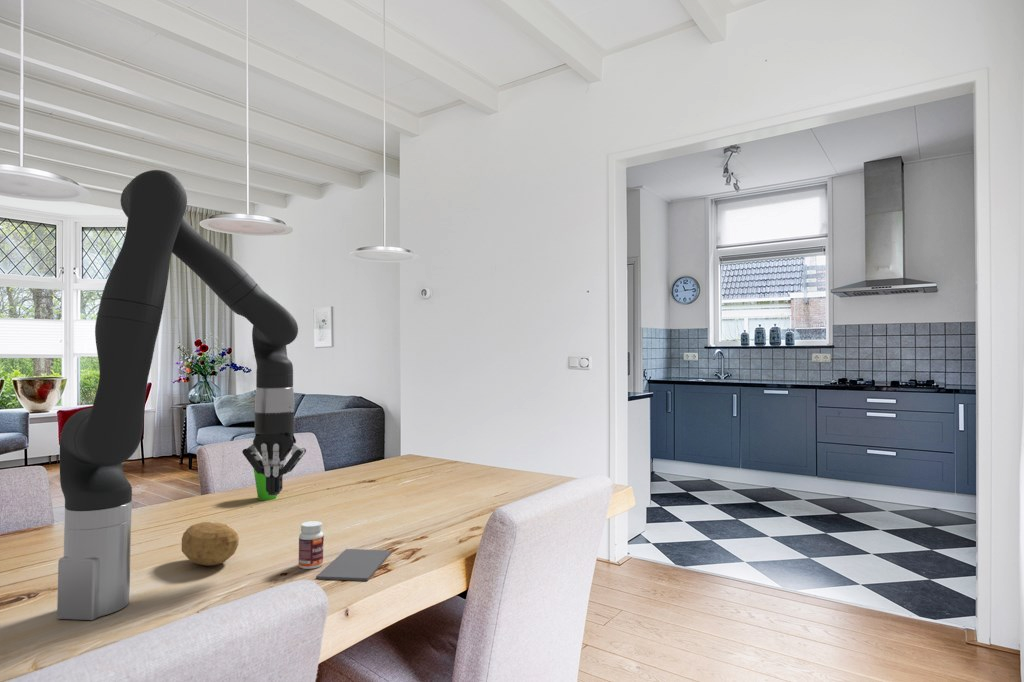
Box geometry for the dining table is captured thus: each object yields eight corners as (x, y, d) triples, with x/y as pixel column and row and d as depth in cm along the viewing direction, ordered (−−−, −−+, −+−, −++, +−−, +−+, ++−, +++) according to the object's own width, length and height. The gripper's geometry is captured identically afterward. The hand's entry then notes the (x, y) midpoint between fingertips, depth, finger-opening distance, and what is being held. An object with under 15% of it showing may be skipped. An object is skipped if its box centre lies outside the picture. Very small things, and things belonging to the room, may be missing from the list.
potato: (214, 550, 128) (215, 513, 128) (250, 564, 120) (250, 524, 120) (167, 563, 120) (168, 523, 120) (201, 578, 112) (202, 536, 112)
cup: (250, 496, 177) (251, 459, 178) (282, 493, 181) (283, 457, 181) (251, 503, 169) (251, 464, 169) (285, 500, 173) (285, 462, 173)
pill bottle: (315, 570, 117) (316, 527, 117) (293, 568, 118) (294, 526, 118) (327, 562, 121) (328, 521, 121) (306, 560, 122) (307, 519, 122)
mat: (367, 580, 111) (367, 578, 111) (316, 578, 112) (316, 576, 112) (391, 552, 127) (391, 550, 127) (346, 551, 128) (346, 548, 128)
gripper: (233, 411, 118) (233, 498, 117) (298, 411, 117) (297, 499, 116) (252, 407, 125) (252, 489, 125) (313, 407, 124) (313, 490, 124)
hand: (274, 494), depth 121 cm, fingers closed
